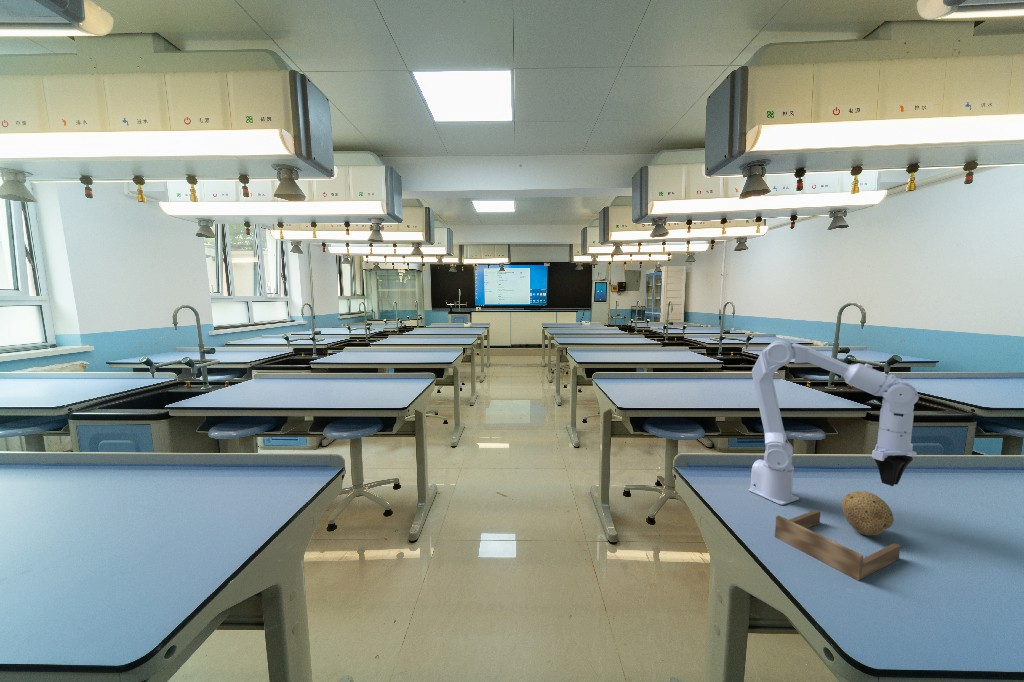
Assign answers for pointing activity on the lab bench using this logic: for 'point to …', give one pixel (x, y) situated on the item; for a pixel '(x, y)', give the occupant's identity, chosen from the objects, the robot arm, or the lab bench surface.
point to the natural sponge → (867, 513)
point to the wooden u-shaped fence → (831, 547)
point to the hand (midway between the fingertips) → (889, 483)
